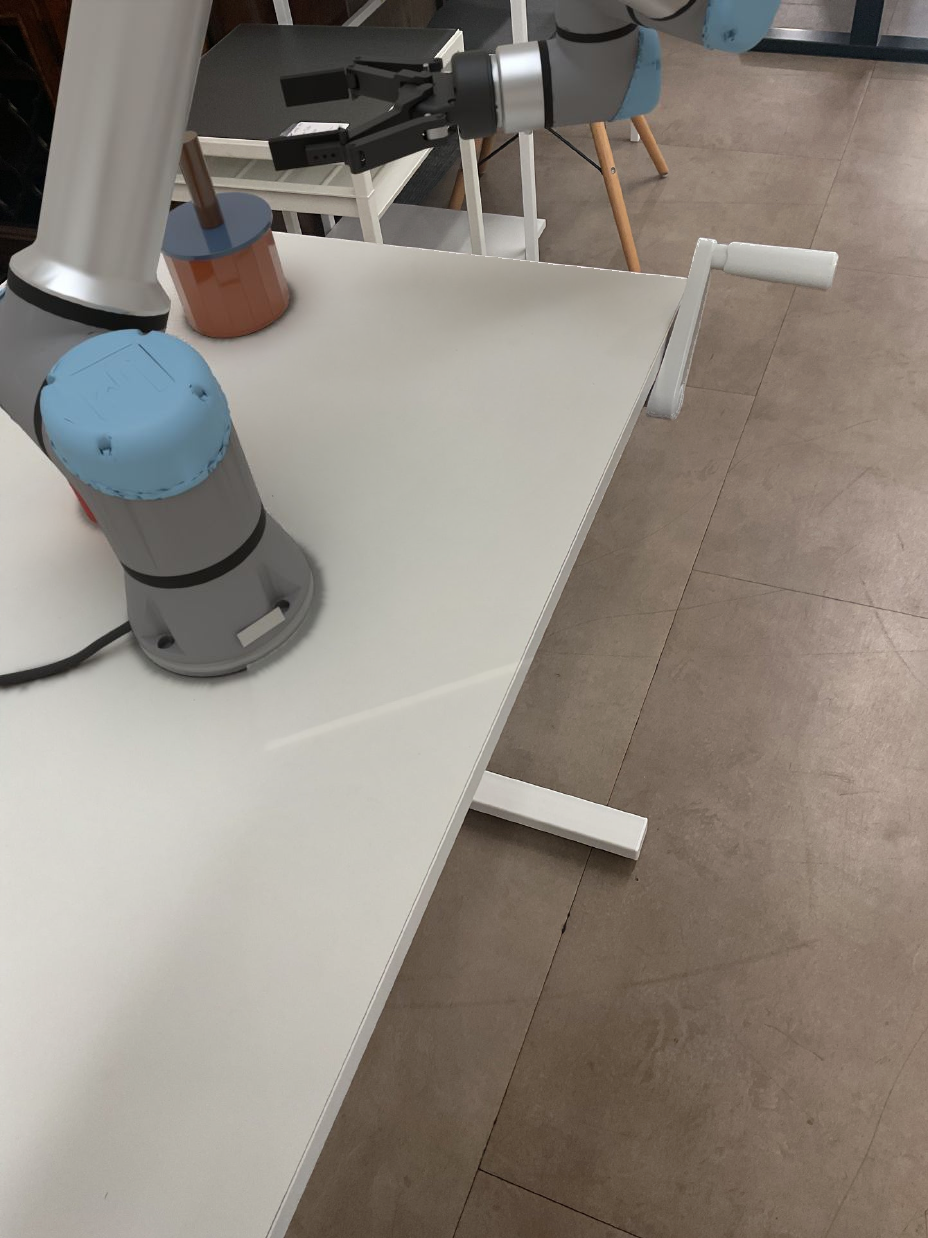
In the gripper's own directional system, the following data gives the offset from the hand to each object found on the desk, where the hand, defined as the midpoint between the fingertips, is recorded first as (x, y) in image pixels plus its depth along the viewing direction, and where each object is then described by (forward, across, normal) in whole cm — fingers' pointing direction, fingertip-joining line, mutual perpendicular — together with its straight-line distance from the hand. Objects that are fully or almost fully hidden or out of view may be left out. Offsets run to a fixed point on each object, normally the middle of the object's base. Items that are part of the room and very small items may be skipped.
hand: (277, 122), depth 98 cm
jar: (+9, 0, -19) cm, 21 cm away
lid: (+9, 0, -10) cm, 14 cm away
